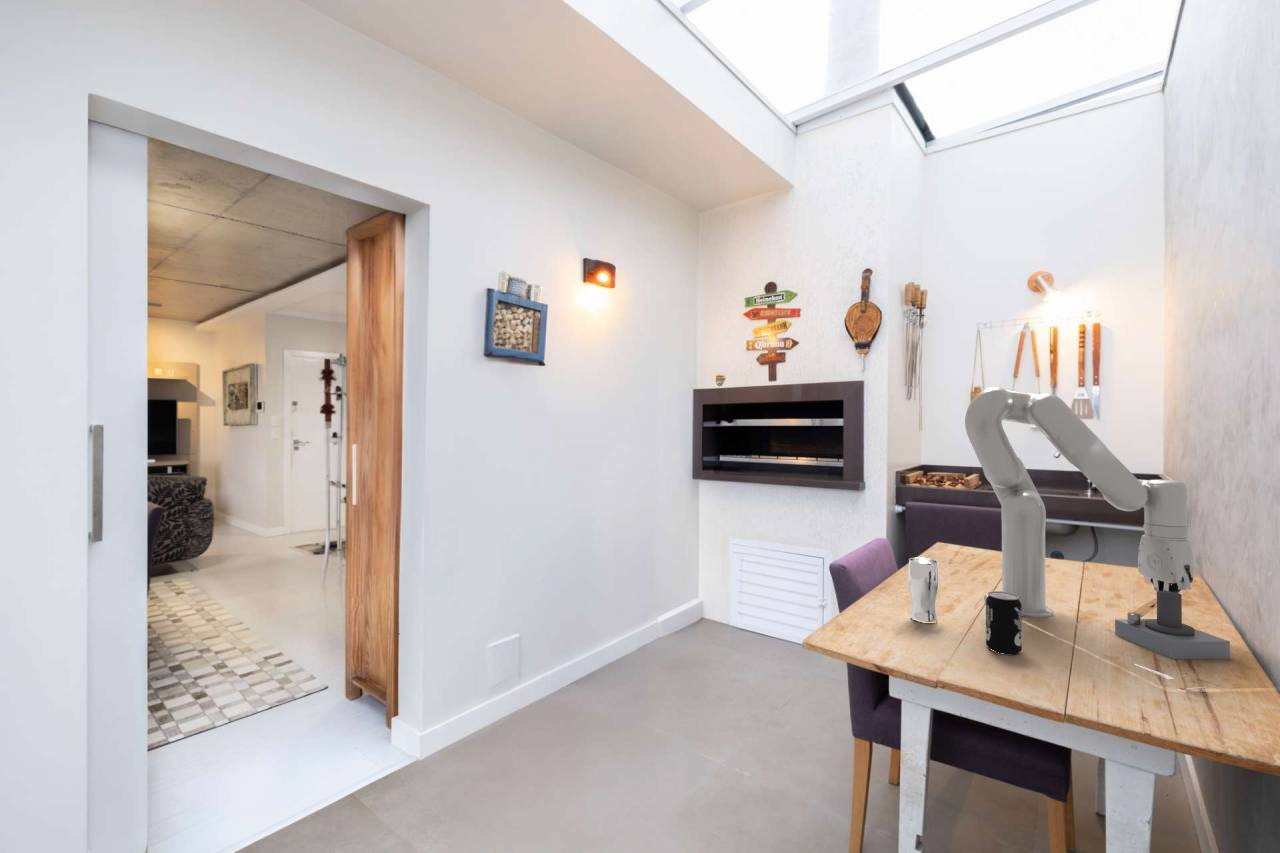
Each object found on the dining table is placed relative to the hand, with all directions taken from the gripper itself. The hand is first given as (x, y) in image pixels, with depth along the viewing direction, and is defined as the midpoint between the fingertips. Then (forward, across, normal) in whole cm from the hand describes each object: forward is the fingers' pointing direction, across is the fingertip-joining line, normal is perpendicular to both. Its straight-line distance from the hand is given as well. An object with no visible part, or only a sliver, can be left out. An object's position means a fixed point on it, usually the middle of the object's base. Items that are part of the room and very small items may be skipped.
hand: (1166, 609), depth 135 cm
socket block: (+5, +10, -9) cm, 15 cm away
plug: (+5, +10, -9) cm, 14 cm away
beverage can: (+5, +10, -46) cm, 48 cm away
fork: (+6, +22, -25) cm, 34 cm away
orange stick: (+1, +2, -7) cm, 7 cm away
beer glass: (+5, -10, -53) cm, 54 cm away
